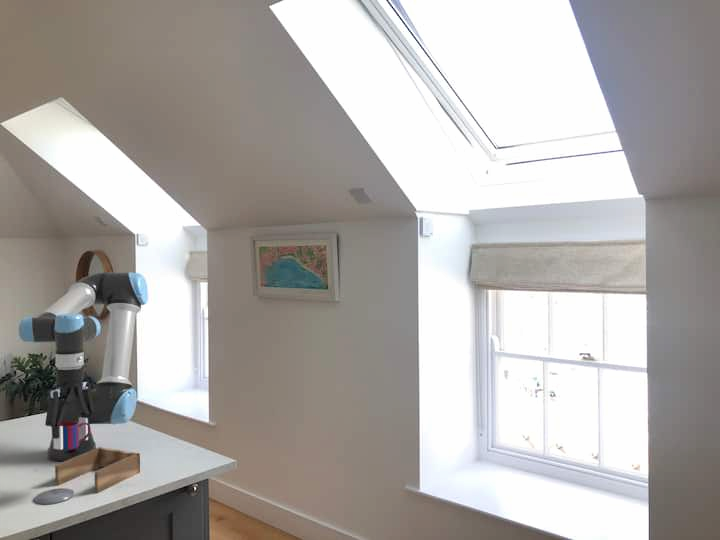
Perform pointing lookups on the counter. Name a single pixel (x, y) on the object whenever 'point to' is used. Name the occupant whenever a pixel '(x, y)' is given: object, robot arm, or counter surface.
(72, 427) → the mug
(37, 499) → the slate coaster
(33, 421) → the counter surface
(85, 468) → the walnut bay
